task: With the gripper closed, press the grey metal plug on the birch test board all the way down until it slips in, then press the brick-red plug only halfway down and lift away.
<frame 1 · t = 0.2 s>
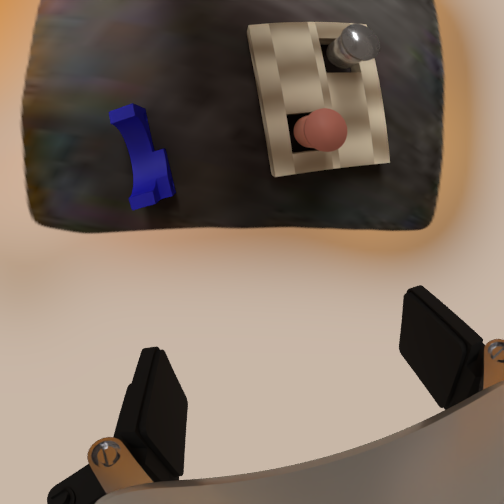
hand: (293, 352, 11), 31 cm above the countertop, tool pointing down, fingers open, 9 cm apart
test board: (318, 94, 35), on the countertop
cable clip: (149, 153, 36), on the countertop
grey plug: (350, 48, 28), point 6 cm above the countertop, slide at 0.0 cm
red plug: (317, 130, 31), point 6 cm above the countertop, slide at 0.0 cm
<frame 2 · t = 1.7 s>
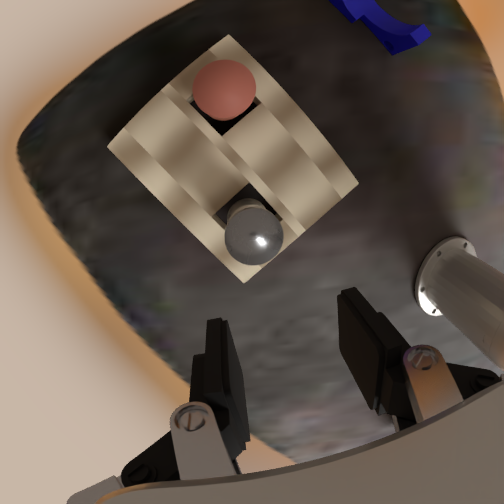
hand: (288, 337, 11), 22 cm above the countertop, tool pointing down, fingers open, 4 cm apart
test board: (234, 158, 30), on the countertop
cable clip: (361, 16, 26), on the countertop
grey plug: (250, 227, 26), point 6 cm above the countertop, slide at 0.0 cm
red plug: (223, 94, 22), point 6 cm above the countertop, slide at 0.0 cm
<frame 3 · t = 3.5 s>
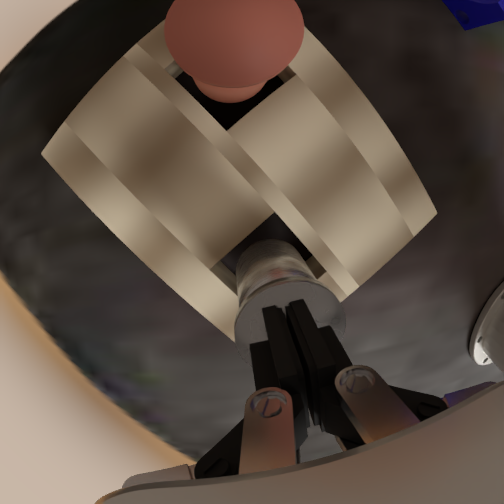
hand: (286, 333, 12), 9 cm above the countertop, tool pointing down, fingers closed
test board: (247, 167, 19), on the countertop
grey plug: (279, 297, 15), point 6 cm above the countertop, slide at 0.1 cm, touching gripper
red plug: (232, 50, 11), point 6 cm above the countertop, slide at 0.0 cm
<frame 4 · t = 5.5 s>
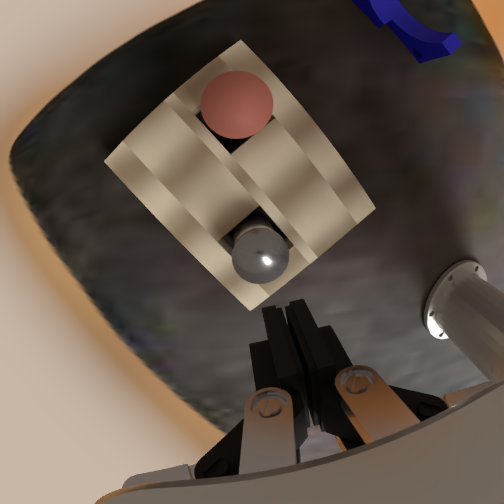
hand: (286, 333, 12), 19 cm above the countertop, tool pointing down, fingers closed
test board: (243, 176, 28), on the countertop
cable clip: (388, 21, 23), on the countertop
grey plug: (256, 245, 27), point 3 cm above the countertop, slide at 2.9 cm
red plug: (235, 109, 20), point 6 cm above the countertop, slide at 0.0 cm
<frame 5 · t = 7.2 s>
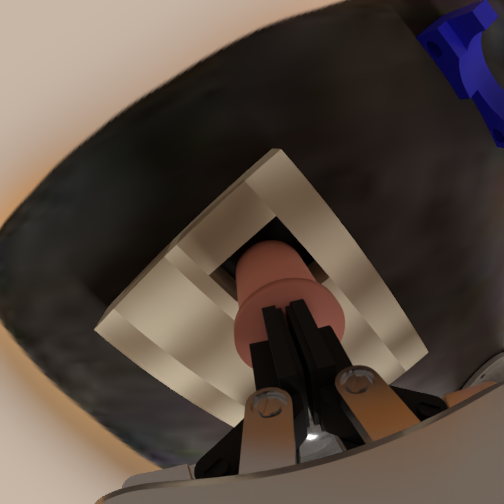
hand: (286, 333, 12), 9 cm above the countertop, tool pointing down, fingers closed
test board: (277, 329, 22), on the countertop
cable clip: (468, 86, 17), on the countertop
grey plug: (294, 410, 21), point 3 cm above the countertop, slide at 2.9 cm
red plug: (278, 298, 15), point 6 cm above the countertop, slide at 0.7 cm, touching gripper
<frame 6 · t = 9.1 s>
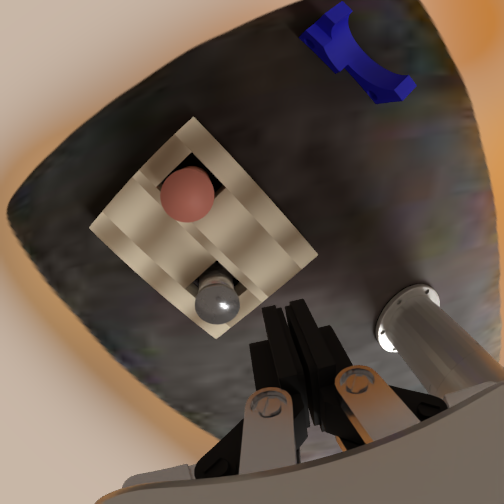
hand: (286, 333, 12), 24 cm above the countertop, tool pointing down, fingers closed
test board: (204, 232, 34), on the countertop
cable clip: (345, 63, 29), on the countertop
grey plug: (216, 291, 33), point 3 cm above the countertop, slide at 2.9 cm
red plug: (189, 189, 28), point 5 cm above the countertop, slide at 1.7 cm
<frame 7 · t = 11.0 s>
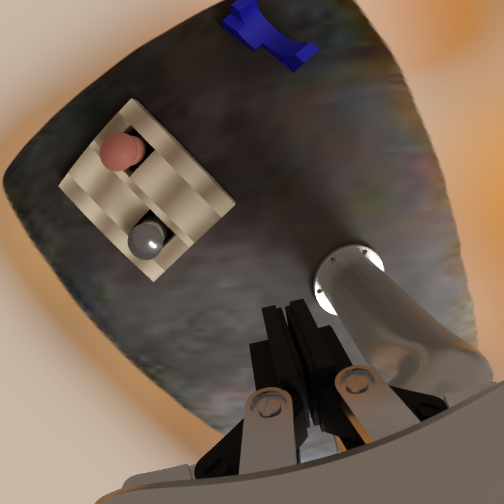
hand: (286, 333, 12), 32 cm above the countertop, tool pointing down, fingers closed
test board: (144, 189, 40), on the countertop
cable clip: (264, 43, 35), on the countertop
grey plug: (150, 235, 39), point 3 cm above the countertop, slide at 2.9 cm
red plug: (125, 151, 34), point 5 cm above the countertop, slide at 1.7 cm
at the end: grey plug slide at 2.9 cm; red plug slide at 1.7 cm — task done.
